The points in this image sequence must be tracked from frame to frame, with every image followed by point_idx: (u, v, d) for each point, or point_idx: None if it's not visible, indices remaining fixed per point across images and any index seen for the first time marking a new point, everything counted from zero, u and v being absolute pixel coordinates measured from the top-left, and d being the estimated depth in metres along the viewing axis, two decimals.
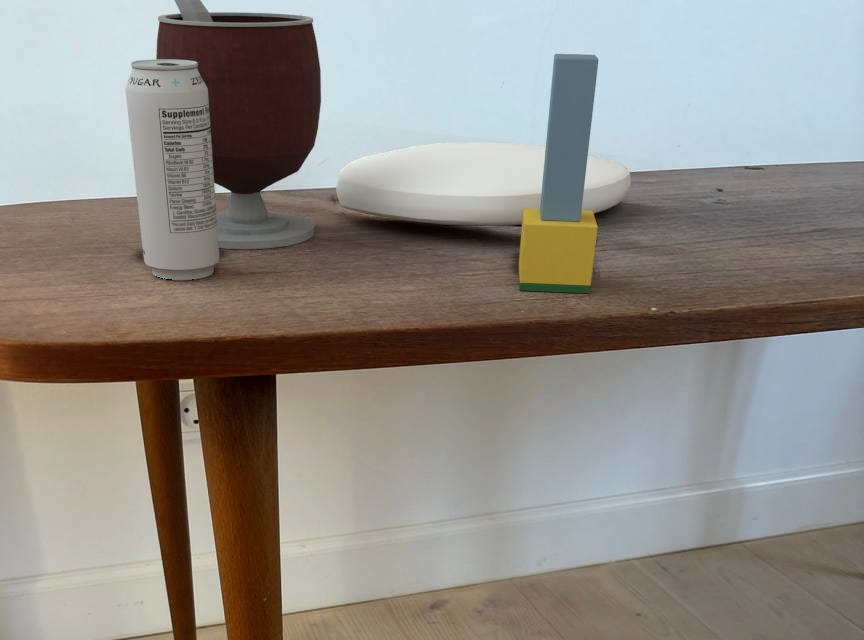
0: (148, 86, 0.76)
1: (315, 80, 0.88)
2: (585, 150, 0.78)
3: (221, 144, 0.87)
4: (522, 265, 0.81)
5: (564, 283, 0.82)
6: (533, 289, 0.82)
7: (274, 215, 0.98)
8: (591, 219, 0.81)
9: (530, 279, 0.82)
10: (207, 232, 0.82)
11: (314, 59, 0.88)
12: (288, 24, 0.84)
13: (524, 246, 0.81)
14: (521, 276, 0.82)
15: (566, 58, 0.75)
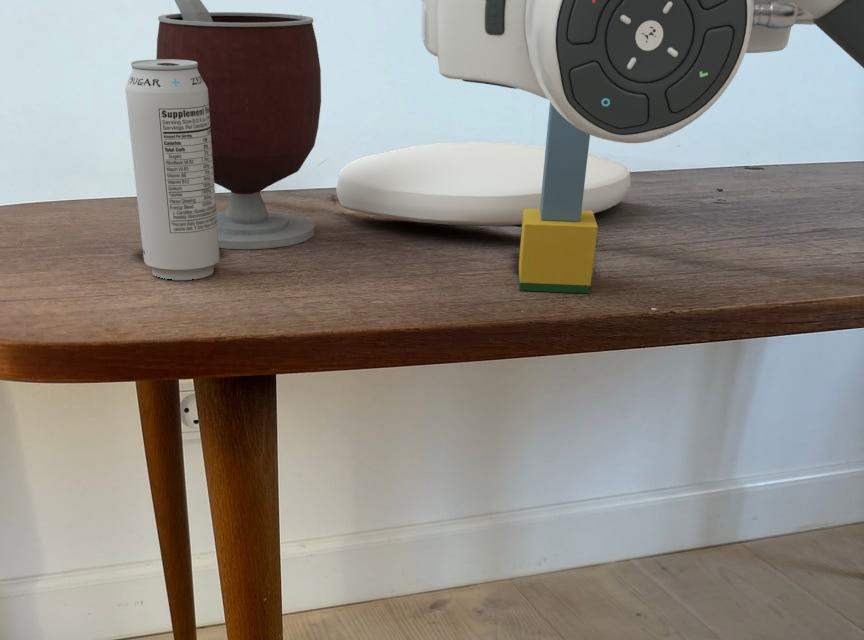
0: (148, 86, 0.76)
1: (315, 80, 0.88)
2: (585, 150, 0.78)
3: (221, 144, 0.87)
4: (522, 265, 0.81)
5: (564, 283, 0.82)
6: (533, 289, 0.82)
7: (274, 215, 0.98)
8: (591, 219, 0.81)
9: (530, 279, 0.82)
10: (207, 232, 0.82)
11: (314, 59, 0.88)
12: (288, 24, 0.84)
13: (524, 246, 0.81)
14: (521, 276, 0.82)
15: None
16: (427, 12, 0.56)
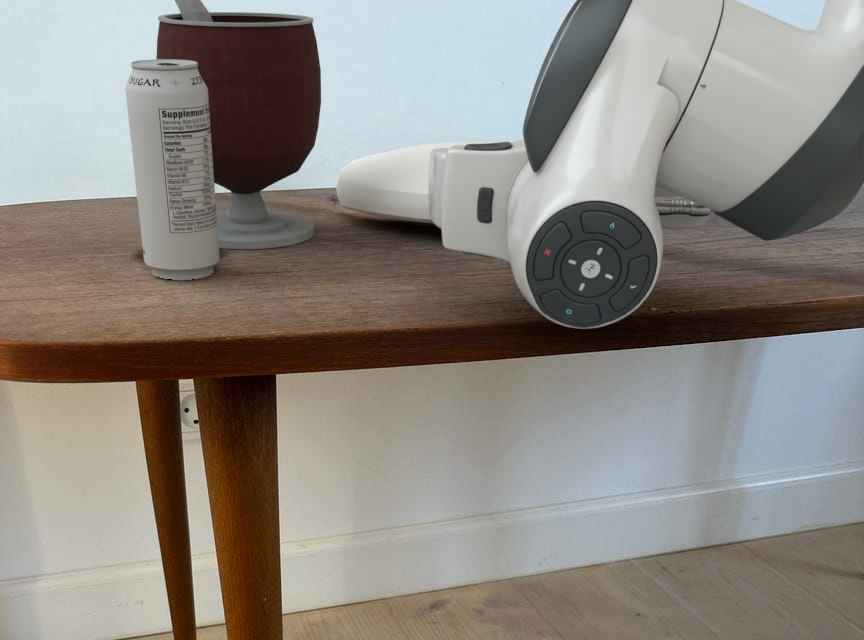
0: (148, 86, 0.76)
1: (315, 80, 0.88)
2: None
3: (221, 144, 0.87)
4: None
5: None
6: None
7: (274, 215, 0.98)
8: None
9: None
10: (207, 232, 0.82)
11: (314, 59, 0.88)
12: (288, 24, 0.84)
13: None
14: None
15: None
16: (433, 196, 0.73)
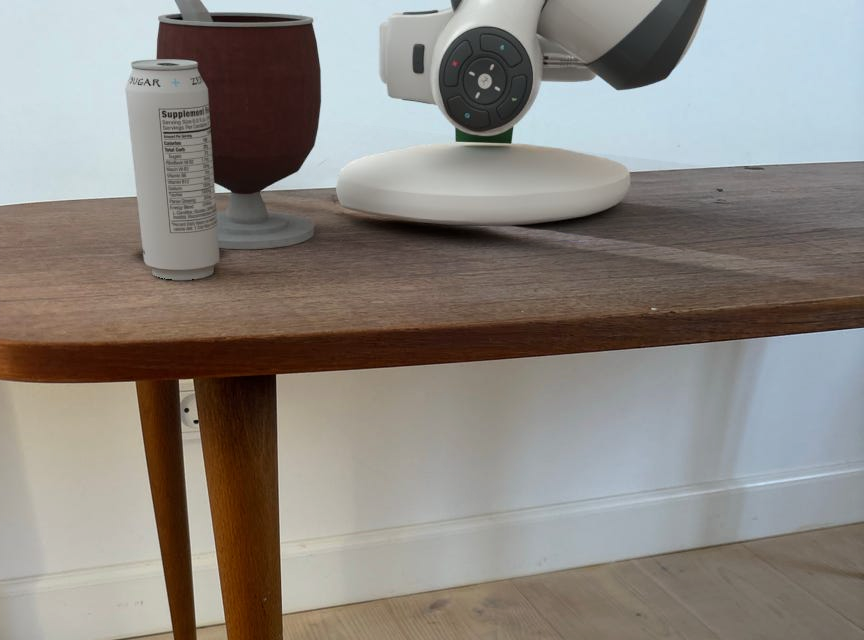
0: (148, 86, 0.76)
1: (315, 80, 0.88)
2: None
3: (221, 144, 0.87)
4: None
5: None
6: None
7: (274, 215, 0.98)
8: None
9: None
10: (207, 232, 0.82)
11: (314, 59, 0.88)
12: (288, 24, 0.84)
13: None
14: None
15: None
16: (381, 58, 0.93)
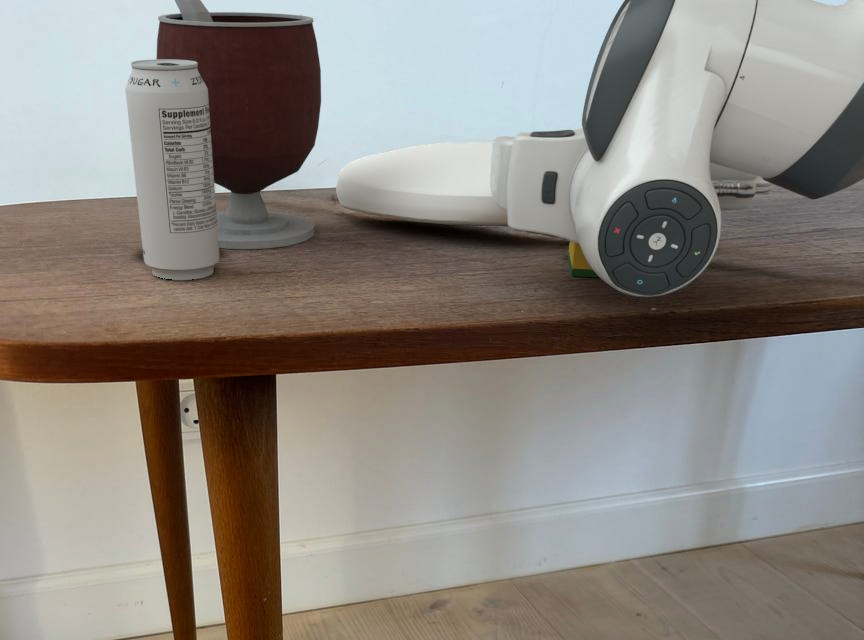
0: (148, 86, 0.76)
1: (315, 80, 0.88)
2: None
3: (221, 144, 0.87)
4: (575, 252, 0.85)
5: None
6: (585, 275, 0.86)
7: (274, 215, 0.98)
8: None
9: (582, 265, 0.86)
10: (207, 232, 0.82)
11: (314, 59, 0.87)
12: (288, 24, 0.84)
13: None
14: (574, 262, 0.86)
15: None
16: (498, 180, 0.79)
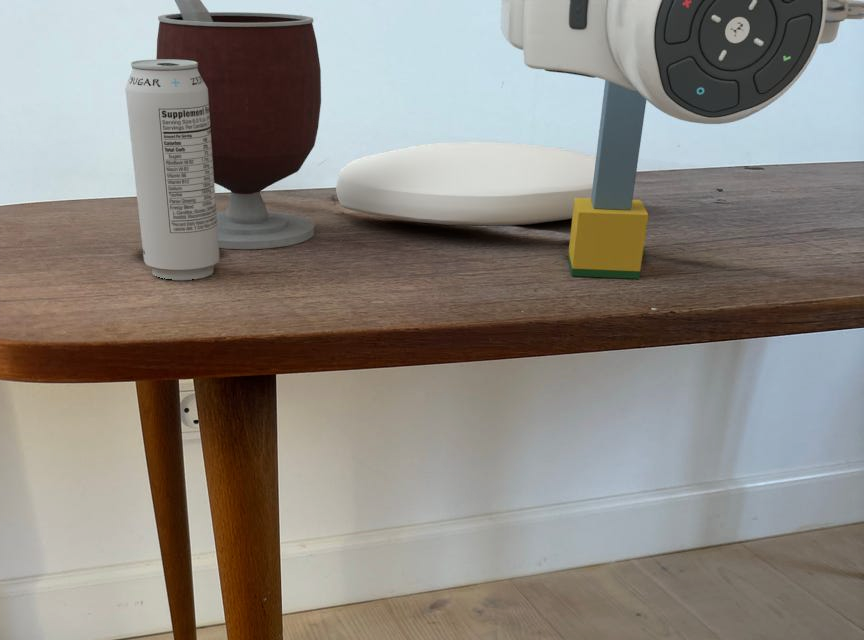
0: (148, 86, 0.76)
1: (315, 80, 0.88)
2: (638, 141, 0.81)
3: (221, 144, 0.87)
4: (575, 251, 0.85)
5: (615, 269, 0.86)
6: (585, 275, 0.86)
7: (274, 215, 0.98)
8: (641, 207, 0.85)
9: (582, 265, 0.86)
10: (207, 232, 0.82)
11: (314, 59, 0.88)
12: (288, 24, 0.84)
13: (577, 233, 0.84)
14: (574, 262, 0.86)
15: None
16: (511, 9, 0.62)
